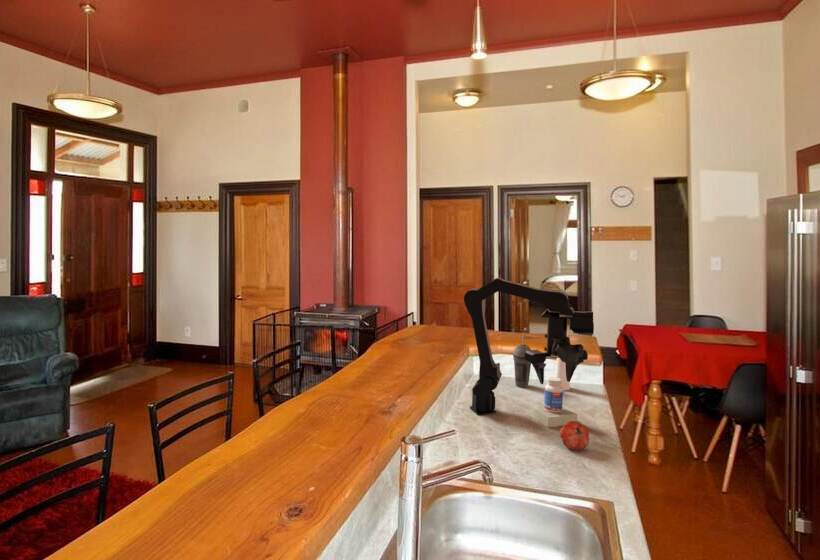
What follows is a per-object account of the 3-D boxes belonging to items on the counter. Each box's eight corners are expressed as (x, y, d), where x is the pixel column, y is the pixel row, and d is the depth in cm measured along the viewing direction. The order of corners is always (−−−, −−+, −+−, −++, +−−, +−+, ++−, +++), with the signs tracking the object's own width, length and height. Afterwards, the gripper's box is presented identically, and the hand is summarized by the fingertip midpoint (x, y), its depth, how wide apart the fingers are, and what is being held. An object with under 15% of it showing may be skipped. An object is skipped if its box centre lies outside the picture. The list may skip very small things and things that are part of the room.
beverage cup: (512, 388, 181) (514, 334, 179) (511, 382, 188) (513, 330, 186) (532, 389, 179) (534, 335, 177) (531, 383, 186) (533, 331, 184)
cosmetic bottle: (549, 385, 184) (552, 328, 181) (564, 384, 185) (566, 327, 183) (558, 391, 178) (561, 331, 176) (573, 390, 179) (576, 330, 177)
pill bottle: (552, 414, 147) (553, 382, 146) (540, 408, 152) (541, 377, 151) (566, 411, 150) (567, 380, 149) (553, 405, 154) (554, 375, 153)
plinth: (547, 427, 145) (547, 417, 145) (530, 414, 154) (530, 405, 154) (576, 423, 148) (577, 414, 147) (558, 412, 157) (558, 402, 157)
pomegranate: (556, 451, 134) (561, 442, 126) (558, 424, 138) (564, 414, 130) (584, 456, 133) (592, 448, 124) (585, 430, 136) (593, 419, 128)
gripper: (544, 339, 138) (542, 393, 139) (600, 336, 143) (598, 388, 145) (524, 331, 149) (522, 382, 150) (577, 328, 154) (575, 377, 155)
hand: (555, 382), depth 150 cm, fingers open, 9 cm apart
